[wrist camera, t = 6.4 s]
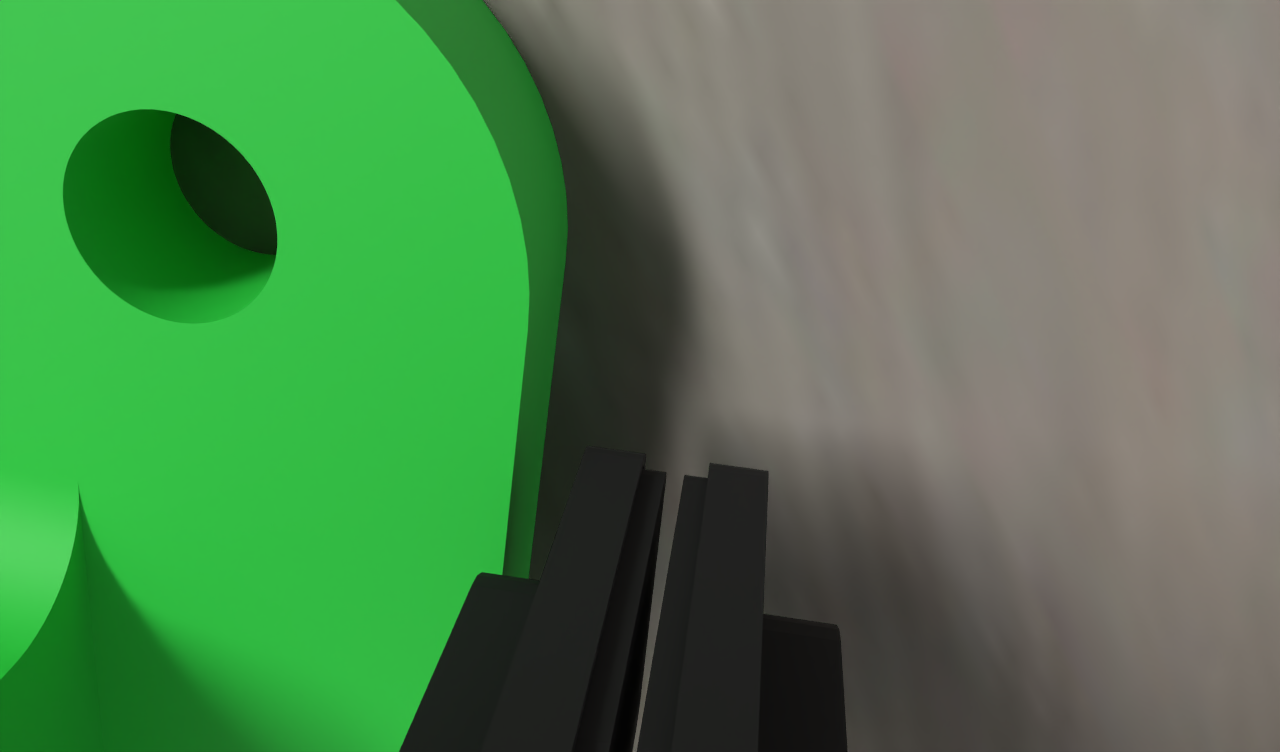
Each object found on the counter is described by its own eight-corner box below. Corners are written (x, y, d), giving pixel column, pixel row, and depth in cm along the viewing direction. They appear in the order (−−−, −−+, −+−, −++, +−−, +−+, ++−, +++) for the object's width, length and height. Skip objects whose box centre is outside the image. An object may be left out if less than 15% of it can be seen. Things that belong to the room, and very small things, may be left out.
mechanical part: (494, 887, 15) (222, 1858, 8) (59, 800, 15) (-597, 1661, 8) (609, -79, 10) (86, 150, 2) (-61, -186, 10) (-2301, -266, 3)
